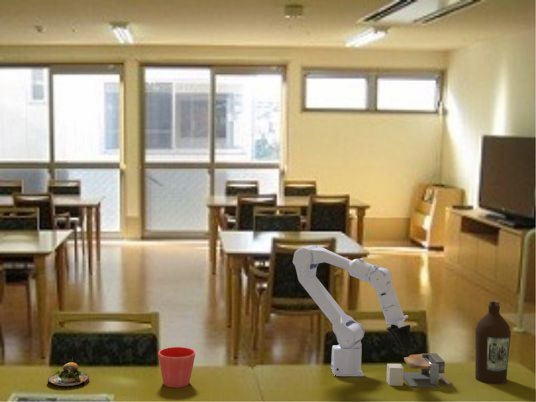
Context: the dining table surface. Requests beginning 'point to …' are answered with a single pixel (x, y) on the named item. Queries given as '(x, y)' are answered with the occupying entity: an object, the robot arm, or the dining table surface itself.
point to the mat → (418, 379)
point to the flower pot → (176, 365)
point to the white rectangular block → (395, 374)
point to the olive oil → (492, 346)
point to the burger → (69, 376)
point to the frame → (434, 372)
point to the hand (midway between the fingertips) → (405, 348)
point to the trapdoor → (425, 362)
